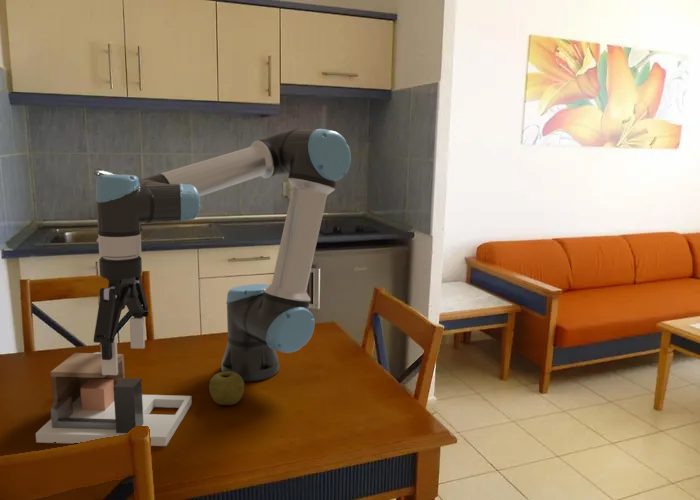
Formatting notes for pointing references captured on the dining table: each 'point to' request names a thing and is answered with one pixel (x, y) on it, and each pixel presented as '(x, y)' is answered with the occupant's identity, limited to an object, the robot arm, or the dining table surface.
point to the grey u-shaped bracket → (125, 419)
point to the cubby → (80, 374)
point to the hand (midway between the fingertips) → (124, 360)
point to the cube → (97, 394)
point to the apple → (226, 388)
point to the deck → (157, 423)
